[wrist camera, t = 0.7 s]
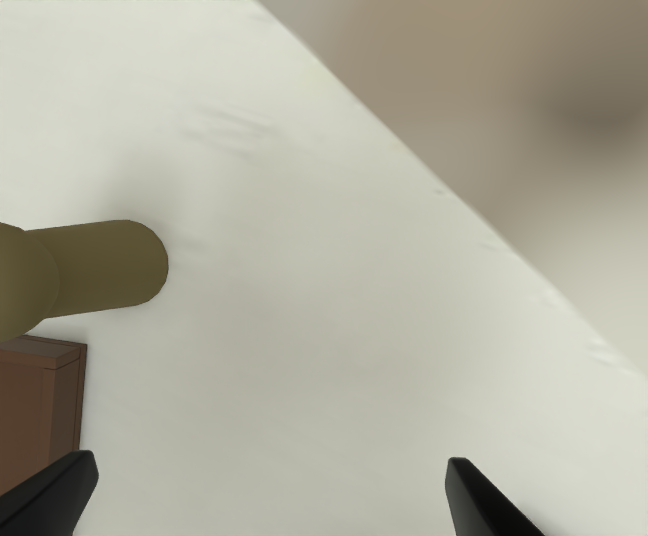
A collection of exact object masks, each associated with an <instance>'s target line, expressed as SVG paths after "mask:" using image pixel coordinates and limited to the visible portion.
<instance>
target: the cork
mask: <svg viewBox="0 0 648 536" xmlns="http://www.w3.org/2000/svg"><path fill="white" fill-rule="evenodd" d="M167 273H168V258H167V253H166V251H165V248H164V246H163V244H162V242H161V241H160V239H159V238H158V237H157V236H156V234H155V233H154V232H153V231H152V230H150V229H149V228H147V227H146V226H144V225H142V224H141V223H137V222H134V221H130V220H113V221H105V222H96V223H88V224H79V225H70V226H62V227H53V228H45V229H36V230H28V231H24V230H22V229H21V228H18V227H15V226H11V225H8V224H4V223H1V222H0V343H2V342H5V341H7V340H10V339H13V338H16V337H18V336H21V335H23V334H24V333H26V332H28V331H29V330H31V329H32V328H34V327H35V326H36V325H37V324H38V323H40V322H41V321H42V320H43V319H46V318H53V317H60V316H67V315H74V314H81V313H88V312H95V311H102V310H109V309H116V308H122V307H129V306H136V305H139V304H142V303H144V302H147V301H149V300H150V299H151V298H153V297H154V296H155V295H156V294H158V293H159V291H160V290H161V288H162V286H163V285H164V283H165V281H166V277H167Z"/></svg>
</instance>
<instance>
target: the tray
mask: <svg viewBox="0 0 648 536" xmlns="http://www.w3.org/2000/svg"><path fill="white" fill-rule="evenodd" d="M86 349H87V345H86V344H80V343H73V342H67V341H60V340H54V339H47V338H41V337H34V336H28V335H21V336H18V337H16V338H13V339H10V340H7V341H5V342H2V343H0V496H1V495H2V494H4V493H6V492H7V491H9V490H10V489H12V488H14V487H15V486H17V485H18V484H20V483H22V482H23V481H25V480H26V479H28V478H29V477H31V476H33V475H34V474H36V473H37V472H39V471H41V470H42V469H44V468H45V467H47V466H49V465H50V464H52V463H53V462H55V461H57V460H58V459H60V458H61V457H63V456H65V455H66V454H68V453H69V452H71V451H74V450H79V438H80V425H81V412H82V400H83V387H84V374H85V362H86ZM71 536H72V534H71Z"/></svg>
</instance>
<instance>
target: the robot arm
mask: <svg viewBox="0 0 648 536" xmlns="http://www.w3.org/2000/svg"><path fill="white" fill-rule="evenodd" d="M98 478H99V473H98V469H97V465H96V462H95V458H94V455H93V452H91V451H90V450H74V451H71V452H69V453H68V454H66V455H65V456H63V457H61V458H60V459H58V460H57V461H55V462H53V463H52V464H50V465H49V466H47V467H45V468H44V469H42V470H41V471H39V472H37V473H36V474H34V475H33V476H31V477H29V478H28V479H26V480H25V481H23V482H22V483H20V484H18V485H17V486H15V487H14V488H12V489H10V490H9V491H7V492H6V493H4V494H2V495H1V496H0V536H71V534H72V532H73V530H74V528H75V526H76V524H77V522H78V520H79V518H80V516H81V514H82V512H83V510H84V508H85V506H86V505H87V503H88V501H89V499H90V497H91V495H92V493H93V491H94V489H95V487H96V485H97V482H98ZM445 490H446V495H447V499H448V503H449V507H450V511H451V515H452V519H453V523H454V527H455V531H456V535H457V536H545V535H544V534H543V533H542V532H541V531H540V530H539V529H538V528H537V527H536V526H535V525H534V524H533V523H532V522H531V521H530V520H529V519H528V518H527V517H526V516H525V515H524V514H523V513H522V512H521V511H520V510H519V509H518V508H517V507H516V506H515V505H514V504H513V503H512V502H511V501H510V500H509V499H508V498H507V497H506V496H505V495H504V494H503V493H502V492H501V491H499V490H498V489H497V488H496V487H495V486H494V485H493V484H492V483H491V482H490V481H489V480H488V479H487V478H486V477H485V476H484V475H483V474H482V473H481V472H480V471H479V470H478V469H477V468H476V467H475V466H474V465H473V464H472V463H471V462H470V461H469V460H468V459H467V458H462V457H451V458H450V459H449V461H448V466H447V472H446V478H445Z"/></svg>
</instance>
